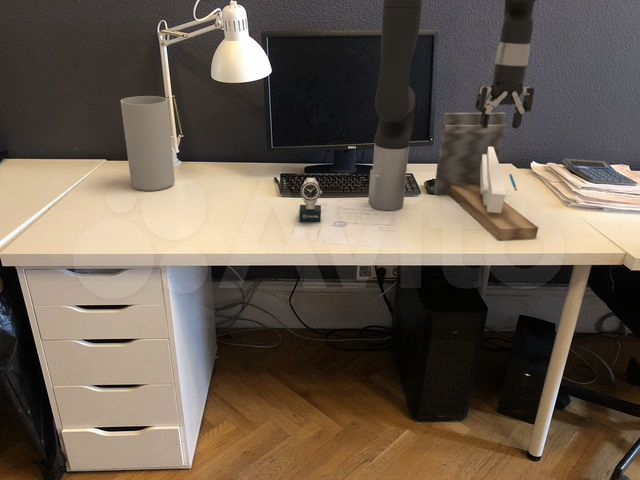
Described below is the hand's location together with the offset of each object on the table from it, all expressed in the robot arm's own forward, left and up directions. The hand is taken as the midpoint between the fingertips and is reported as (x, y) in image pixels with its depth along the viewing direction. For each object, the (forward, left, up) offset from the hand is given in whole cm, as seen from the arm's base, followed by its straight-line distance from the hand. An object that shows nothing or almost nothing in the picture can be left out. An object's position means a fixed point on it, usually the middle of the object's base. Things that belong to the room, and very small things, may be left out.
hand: (499, 127), depth 138 cm
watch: (-49, 0, -24) cm, 54 cm away
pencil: (+21, +24, -24) cm, 40 cm away
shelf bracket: (+1, +1, -21) cm, 21 cm away
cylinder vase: (-92, +31, -24) cm, 100 cm away
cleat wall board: (0, -2, -23) cm, 23 cm away
